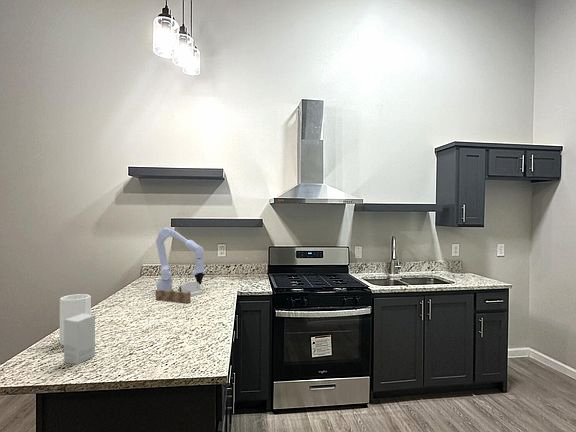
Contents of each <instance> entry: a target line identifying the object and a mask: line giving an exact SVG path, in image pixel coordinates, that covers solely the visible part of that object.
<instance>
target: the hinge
mask: <svg viewBox="0 0 576 432" xmlns="http://www.w3.org/2000/svg"><path fill="white" fill-rule="evenodd" d="M188 291H190V293H191V298H192V297H197V296H201V295H204V291H203V290H202V288H201V284H200V285H199V283H198V282H197V281H187V282H185V283H182V284H180V285H179V286H178V292H188Z"/></svg>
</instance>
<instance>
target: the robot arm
mask: <svg viewBox="0 0 576 432" xmlns="http://www.w3.org/2000/svg"><path fill="white" fill-rule="evenodd" d="M168 238H175V239H177V240H178V241H180V242H182V243H183V244H184V245H185V247H186V249H188V250H190V251H191V252H193V253H194V254H195V257H194V270H193V271H192V272H191V276H194V277H195V279H196V281H195V282H198V283H199V285H200V286H201V285H202V281H203V278H204V276H205V273H207V269H205V268H204V267H205V265H204V263H205V262H204V261H205V259H204V256H205V255H204V253H205V249H204V247H202V246H201V245H200V244H198V243H196V242H195V240H192V239H187V238H186V237H184V236H183V235H181V233H179V232H177V231H176V230H174V229H172V228H170V227H168V226H166V227H163V228H162V229H161V230H160V231H159V232H158V235H157V238H156V240H155V243H156V249H157V253H158V257H159V263H160V270H161V273H160V274H161V275H160V278H161V279H158V281H157V283H156V290H167V291H169V290H173V278H172V276H173V271H172V270H171V268H170V265H169V261H168V260H169V259H168V256H167V252H166V247H165V246H166V245H165V242H166V240H167V239H168Z"/></svg>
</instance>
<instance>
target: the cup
mask: <svg viewBox="0 0 576 432" xmlns="http://www.w3.org/2000/svg"><path fill="white" fill-rule="evenodd" d="M91 307H92V296H91V295H89V294H86V293H85V294H84V293H83V294H80V293H78V294H69V295H65V296H61V297H60V298H59V344H60V345H61V346H63V347H64V320H65V319H68V318H71V317H74V316H77V315H79V314H91V315H92V308H91Z"/></svg>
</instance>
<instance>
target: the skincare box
mask: <svg viewBox="0 0 576 432" xmlns="http://www.w3.org/2000/svg"><path fill="white" fill-rule="evenodd" d="M95 345H96V315H95V314H92V313H91V314H79V315H77V316H74V317H71V318H68V319H65V320H64V346H63V362H64V363H67V364H73V365H79V364H81V363H83V362H86V361H87V360H89V359H91V358H93V357H95V356H96V346H95Z"/></svg>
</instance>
